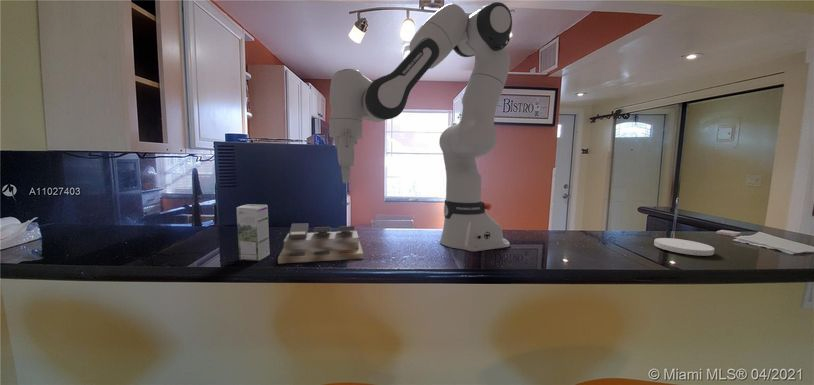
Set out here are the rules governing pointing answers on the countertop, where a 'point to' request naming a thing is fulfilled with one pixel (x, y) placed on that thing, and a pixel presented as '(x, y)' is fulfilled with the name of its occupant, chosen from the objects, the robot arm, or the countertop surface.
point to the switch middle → (321, 229)
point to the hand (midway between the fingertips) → (345, 181)
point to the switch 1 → (298, 230)
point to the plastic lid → (684, 246)
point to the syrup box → (253, 232)
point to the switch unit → (322, 247)
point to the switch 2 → (346, 228)
